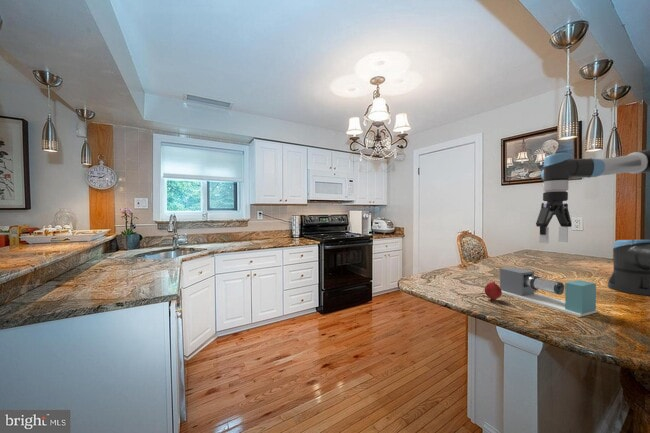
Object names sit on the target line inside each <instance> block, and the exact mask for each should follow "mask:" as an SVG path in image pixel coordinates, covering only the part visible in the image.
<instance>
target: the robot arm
mask: <svg viewBox="0 0 650 433" xmlns="http://www.w3.org/2000/svg"><path fill="white" fill-rule="evenodd" d="M625 173H629V174H630V175H633V174H634V175H635V174H644V173H645V174H648V173H650V148H649V149H644V150H640V151H636V152H635V151H634V152H630V153H629V154H627V155H621V156H614V157H606V158H592V157H591V158H571V157H570V154H569V153H567V152H559V153H551V154H549V155H545V157H544V160H543V169H542V170H541V173H540V177H541V179H542V180H543V184H542V188H543V190H542V191H543V193H542V201H543V202H542V203H541V205H540V206H541V207H540V210H539V214H538V217H537V219H536V223H535V225H536V227H539V237H538V238H539V241H538V242H539V243H540V244H549V241H550V240H549V239H550V236H549V235H550V227H549V223H551V220H552V219H553V217H554V216H555V217H556V218H557V221H558V223H559V226H558V243H559V242H560V243H569V242H568V241H569V239H568V238H569V228H571V227H572V223H573V222H572V219H571V216H570V211H569V204H568V203H564V202H567V201H568V200H569V192H568V191H569V181H571V180H575V179H585V178H588V179H589V178H590V179H591V178H597V177H602V176H608V175H609V176H611V175H618V174H625ZM612 252H613V255H612V258H613V271H612V273H611V275H610V277H609V279H608V281H607V287H608V288H609V289H612V290H614V291H618V292H622V293H627V294H634V295H640V296H641V295H643V296H650V239H617V240H615V241H614V242H613V248H612Z"/></svg>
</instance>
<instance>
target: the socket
mask: <svg viewBox="0 0 650 433" xmlns="http://www.w3.org/2000/svg"><path fill="white" fill-rule="evenodd" d="M564 293H565V295H564V297H565V300H564V301H565V309H566V310H570V311H573V312H576V313H580V314H584V313H588V312H592V311H595V310H597V282H592V281H586V280H581V279H577V280H572V281H567V282H565V285H564Z"/></svg>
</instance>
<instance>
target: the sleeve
mask: <svg viewBox="0 0 650 433" xmlns="http://www.w3.org/2000/svg"><path fill="white" fill-rule="evenodd" d="M524 275H528V276H532V277H533V276H535V271H534V270H529V269H523V268H519V267H514V266H510V267H509V266H508V267H502V268H499V287H500V289H501V290H502V291H505V292H509V293H512V294H516V295H519V296H526V295H531V294H534V293H535V290H534V289H532V288H531V287H527V286H524Z"/></svg>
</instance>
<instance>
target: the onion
mask: <svg viewBox="0 0 650 433" xmlns="http://www.w3.org/2000/svg"><path fill="white" fill-rule="evenodd" d="M484 293H485V295H486V297H488V298H489V299H491V300H492V301H495V300H498V299H499V298H500V297H501V296H502V291H501V289H500V285H498V284H497V283H496V281H495V280H493V281H491V282H490V283H488V284H485V286H484Z"/></svg>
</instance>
